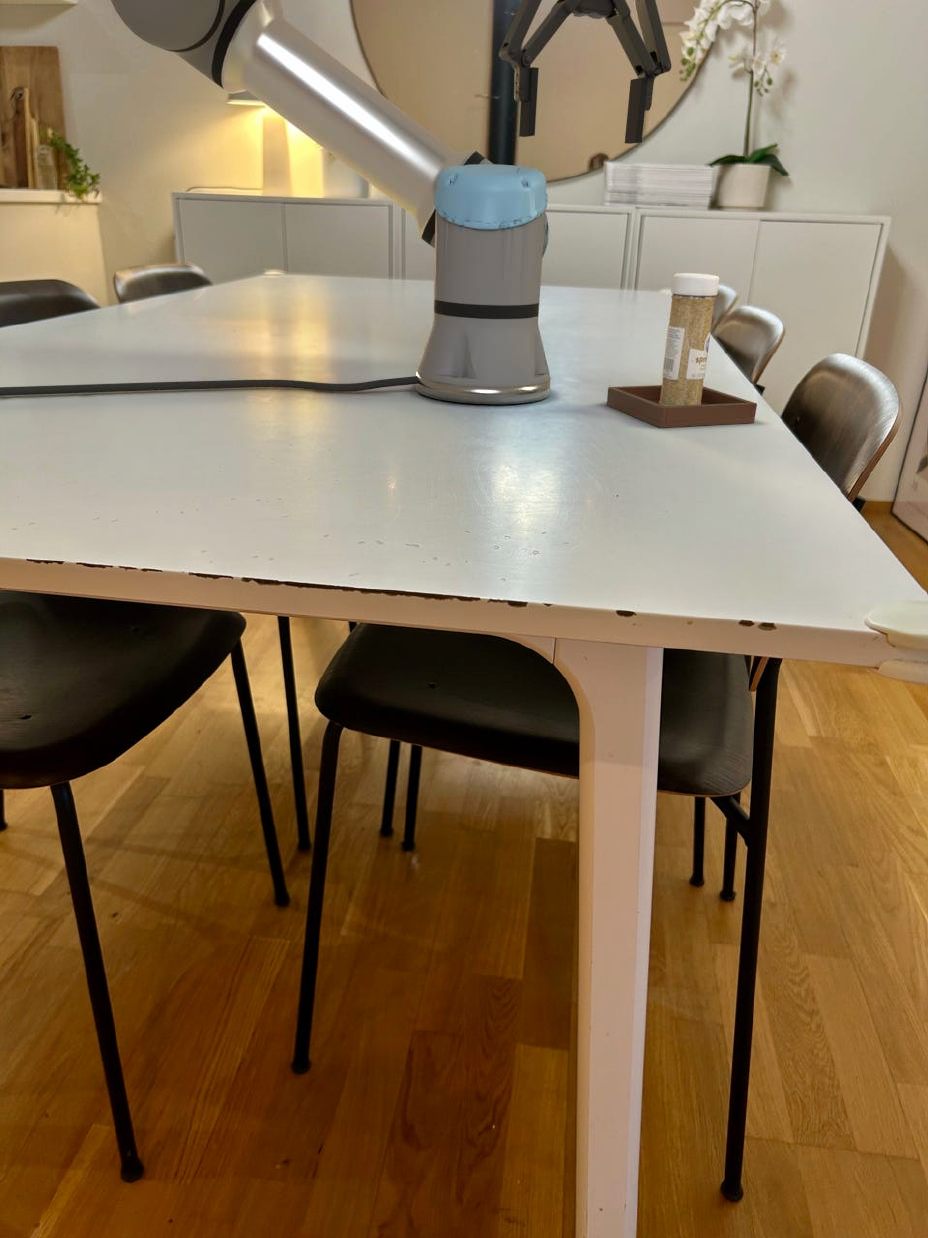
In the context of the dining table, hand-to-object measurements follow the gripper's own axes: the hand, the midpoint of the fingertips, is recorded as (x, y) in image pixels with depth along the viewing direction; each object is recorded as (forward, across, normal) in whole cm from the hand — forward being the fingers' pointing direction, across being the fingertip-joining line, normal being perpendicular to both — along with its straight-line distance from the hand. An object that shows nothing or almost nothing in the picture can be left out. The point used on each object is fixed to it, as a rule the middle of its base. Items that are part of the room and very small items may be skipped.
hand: (581, 139), depth 104 cm
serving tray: (+27, -2, +23) cm, 35 cm away
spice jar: (+26, -2, +23) cm, 35 cm away
